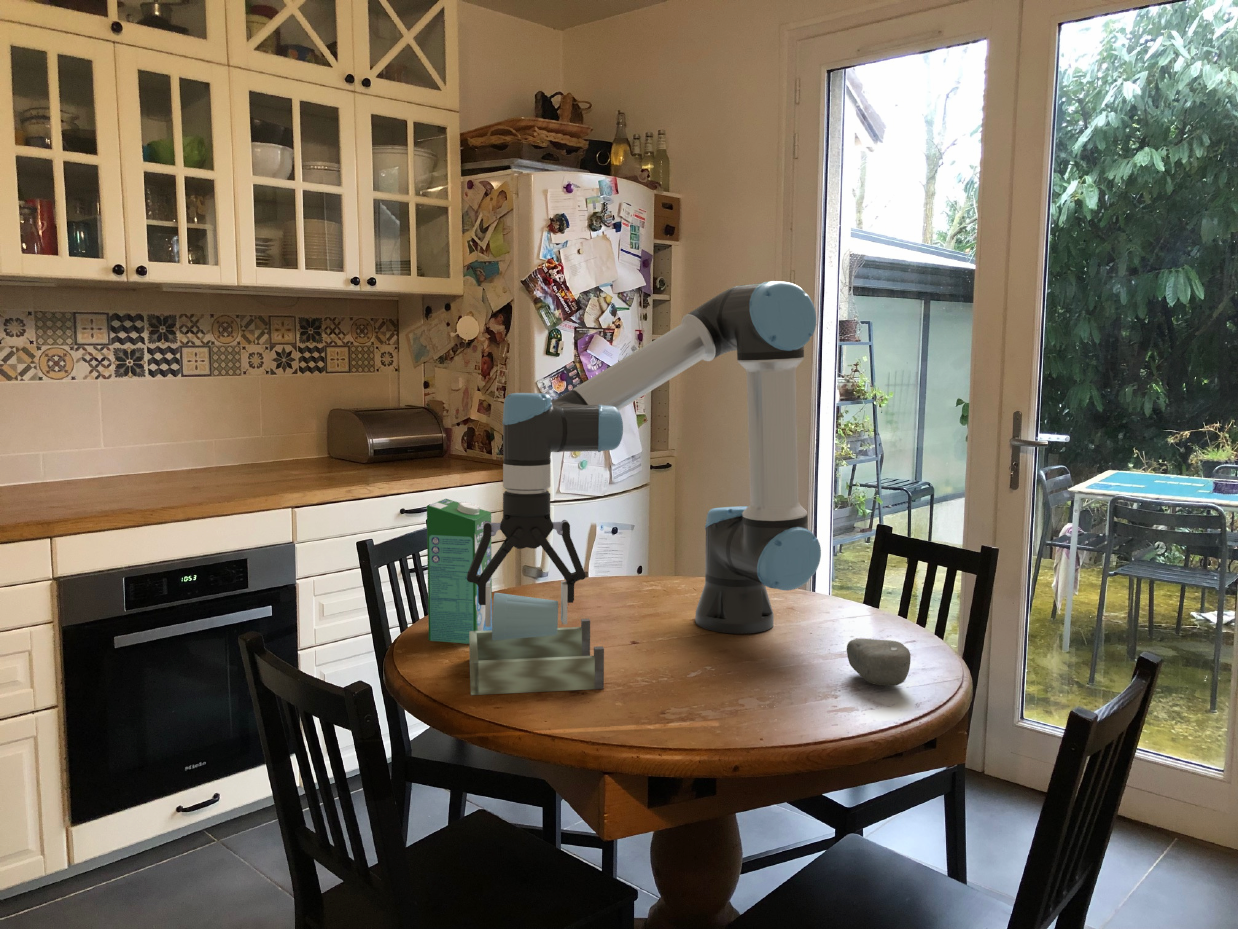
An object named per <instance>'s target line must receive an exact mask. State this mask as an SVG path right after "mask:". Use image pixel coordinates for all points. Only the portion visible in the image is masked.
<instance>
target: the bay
mask: <svg viewBox="0 0 1238 929" xmlns="http://www.w3.org/2000/svg"><path fill="white" fill-rule="evenodd" d="M468 646H469V680H470V681H469V686H470V695H471V696H479V695H498V694H499V695H500V694H504V695H505V694H519V693H520V694H521V693H541V692H560V691H561V692H562V691H583V690H586V691H587V690H604V689H605V648H604V646H593V655H591V619H590V618H581V619H580V626H572V627H571V626H570V627H569V626H568V627H558V628H557V635H551V636H540V637H528V638H516V639H505V640H494V641H493V640H492V630H488V631H469V644H468Z"/></svg>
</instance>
